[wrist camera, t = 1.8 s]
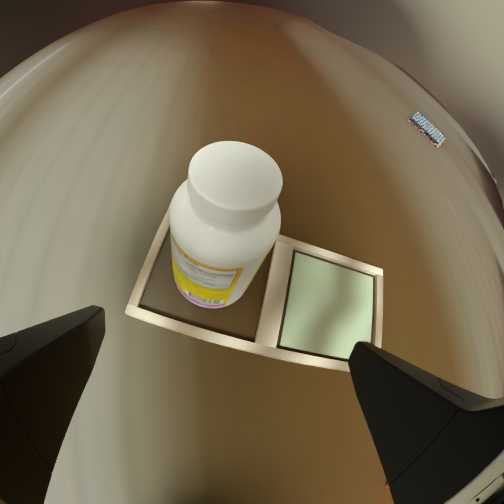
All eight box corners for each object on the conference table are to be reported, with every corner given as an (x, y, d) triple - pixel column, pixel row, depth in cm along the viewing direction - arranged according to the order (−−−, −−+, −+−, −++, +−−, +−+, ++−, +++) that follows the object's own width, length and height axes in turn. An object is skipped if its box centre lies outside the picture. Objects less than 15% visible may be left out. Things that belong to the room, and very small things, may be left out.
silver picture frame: (125, 314, 21) (124, 312, 20) (171, 204, 26) (171, 201, 26) (375, 375, 23) (378, 374, 22) (380, 271, 29) (382, 269, 28)
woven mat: (443, 142, 56) (447, 137, 54) (436, 150, 51) (440, 145, 49) (415, 115, 58) (419, 110, 56) (404, 120, 53) (408, 114, 51)
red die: (405, 499, 16) (440, 508, 11) (385, 485, 17) (421, 495, 12) (429, 465, 19) (465, 467, 14) (411, 448, 19) (449, 450, 15)
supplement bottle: (225, 230, 26) (258, 120, 15) (261, 289, 24) (328, 201, 13) (160, 257, 24) (150, 145, 13) (194, 324, 22) (207, 252, 11)
